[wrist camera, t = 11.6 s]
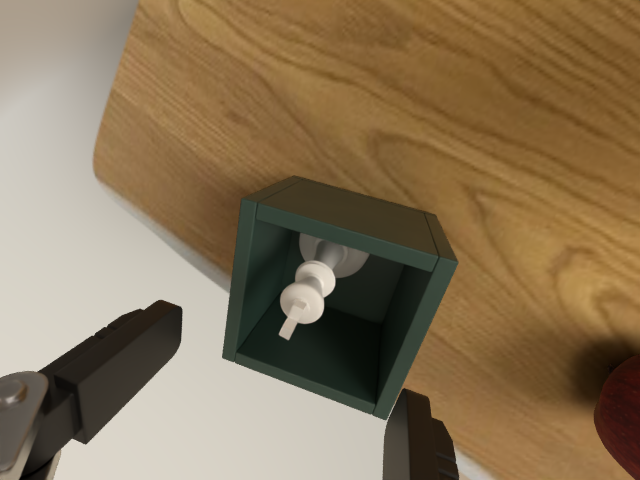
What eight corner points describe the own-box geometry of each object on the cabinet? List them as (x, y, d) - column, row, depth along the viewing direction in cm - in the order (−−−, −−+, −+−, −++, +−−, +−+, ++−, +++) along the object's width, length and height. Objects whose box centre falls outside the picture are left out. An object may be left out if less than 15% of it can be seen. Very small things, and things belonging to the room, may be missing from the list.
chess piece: (384, 228, 19) (374, 315, 10) (351, 286, 21) (318, 403, 12) (316, 195, 19) (247, 250, 10) (291, 255, 21) (213, 346, 12)
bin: (271, 292, 24) (221, 358, 17) (293, 175, 20) (240, 197, 13) (389, 332, 22) (386, 421, 15) (435, 214, 19) (459, 262, 12)
